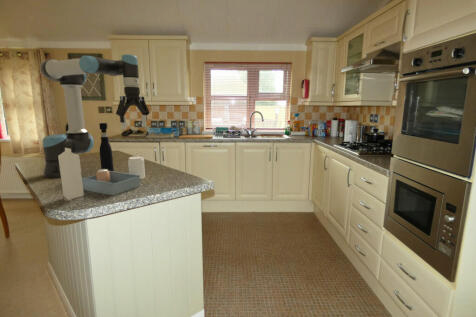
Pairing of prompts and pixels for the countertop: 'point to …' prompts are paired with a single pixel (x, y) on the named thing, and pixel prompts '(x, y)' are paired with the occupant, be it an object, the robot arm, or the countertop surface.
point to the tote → (112, 183)
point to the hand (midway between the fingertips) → (134, 128)
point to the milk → (70, 174)
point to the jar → (103, 175)
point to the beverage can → (136, 166)
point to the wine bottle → (105, 149)
